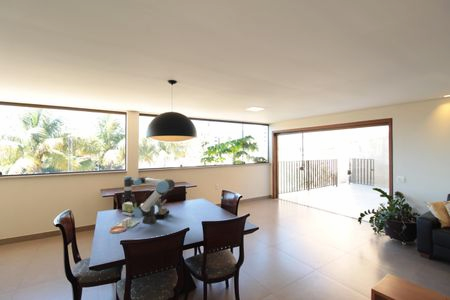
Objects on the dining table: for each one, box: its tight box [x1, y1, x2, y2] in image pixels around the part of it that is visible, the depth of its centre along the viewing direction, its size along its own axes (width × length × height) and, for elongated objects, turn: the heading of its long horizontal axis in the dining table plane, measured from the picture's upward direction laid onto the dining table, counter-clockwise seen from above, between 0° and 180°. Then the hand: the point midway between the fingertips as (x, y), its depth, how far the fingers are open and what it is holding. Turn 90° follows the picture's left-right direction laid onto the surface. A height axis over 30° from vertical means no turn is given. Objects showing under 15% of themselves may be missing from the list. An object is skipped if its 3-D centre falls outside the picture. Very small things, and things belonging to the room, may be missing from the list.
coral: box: [154, 198, 170, 219], centre depth 264 cm, size 25×20×22 cm
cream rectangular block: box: [124, 217, 132, 224], centre depth 236 cm, size 4×4×6 cm
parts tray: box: [112, 220, 140, 228], centre depth 232 cm, size 21×16×2 cm
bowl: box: [109, 226, 127, 234], centre depth 216 cm, size 15×15×2 cm
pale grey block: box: [121, 218, 128, 226], centre depth 229 cm, size 4×4×6 cm
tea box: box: [122, 201, 138, 217], centre depth 272 cm, size 15×10×15 cm, turn 66°
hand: (128, 209), depth 236 cm, fingers open, 10 cm apart
